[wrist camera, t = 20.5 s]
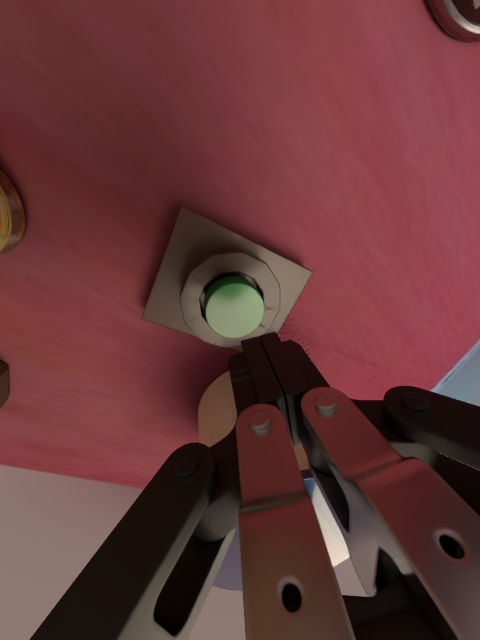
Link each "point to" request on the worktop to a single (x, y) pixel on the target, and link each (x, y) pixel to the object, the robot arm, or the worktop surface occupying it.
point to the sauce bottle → (10, 215)
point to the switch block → (212, 264)
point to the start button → (233, 307)
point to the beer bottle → (3, 384)
